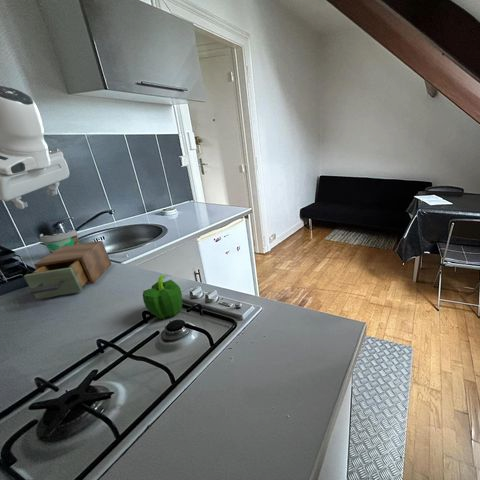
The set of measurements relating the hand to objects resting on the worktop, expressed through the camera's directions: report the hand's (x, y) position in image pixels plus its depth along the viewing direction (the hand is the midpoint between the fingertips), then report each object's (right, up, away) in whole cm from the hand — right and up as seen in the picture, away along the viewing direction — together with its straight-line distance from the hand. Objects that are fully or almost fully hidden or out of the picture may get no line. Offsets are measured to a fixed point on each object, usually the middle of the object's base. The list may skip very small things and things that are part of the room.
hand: (38, 200), depth 77 cm
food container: (-22, -19, +30) cm, 42 cm away
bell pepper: (+44, -31, -9) cm, 55 cm away
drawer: (+4, -27, +5) cm, 27 cm away
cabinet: (+2, -24, +13) cm, 27 cm away
